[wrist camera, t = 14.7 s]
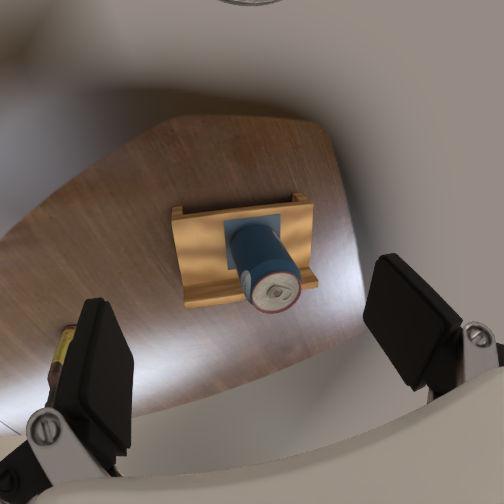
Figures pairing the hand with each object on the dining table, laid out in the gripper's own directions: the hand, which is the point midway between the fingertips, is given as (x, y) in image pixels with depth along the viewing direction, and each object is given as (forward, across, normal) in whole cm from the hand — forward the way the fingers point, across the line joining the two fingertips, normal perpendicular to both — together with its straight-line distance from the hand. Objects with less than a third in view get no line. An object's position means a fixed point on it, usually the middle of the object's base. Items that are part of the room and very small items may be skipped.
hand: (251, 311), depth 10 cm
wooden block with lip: (+34, -5, +15) cm, 38 cm away
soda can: (+29, -6, +14) cm, 33 cm away
